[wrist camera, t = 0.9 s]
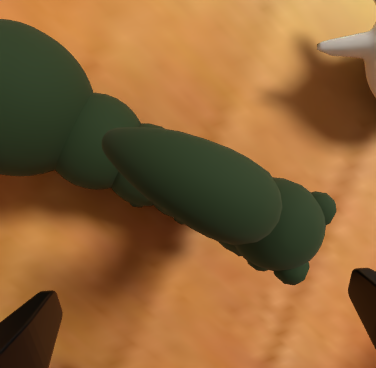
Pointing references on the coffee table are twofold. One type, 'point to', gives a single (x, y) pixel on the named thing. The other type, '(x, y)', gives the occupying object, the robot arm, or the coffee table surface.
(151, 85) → the coffee table surface
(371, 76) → the toy creature
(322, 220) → the toy figurine
